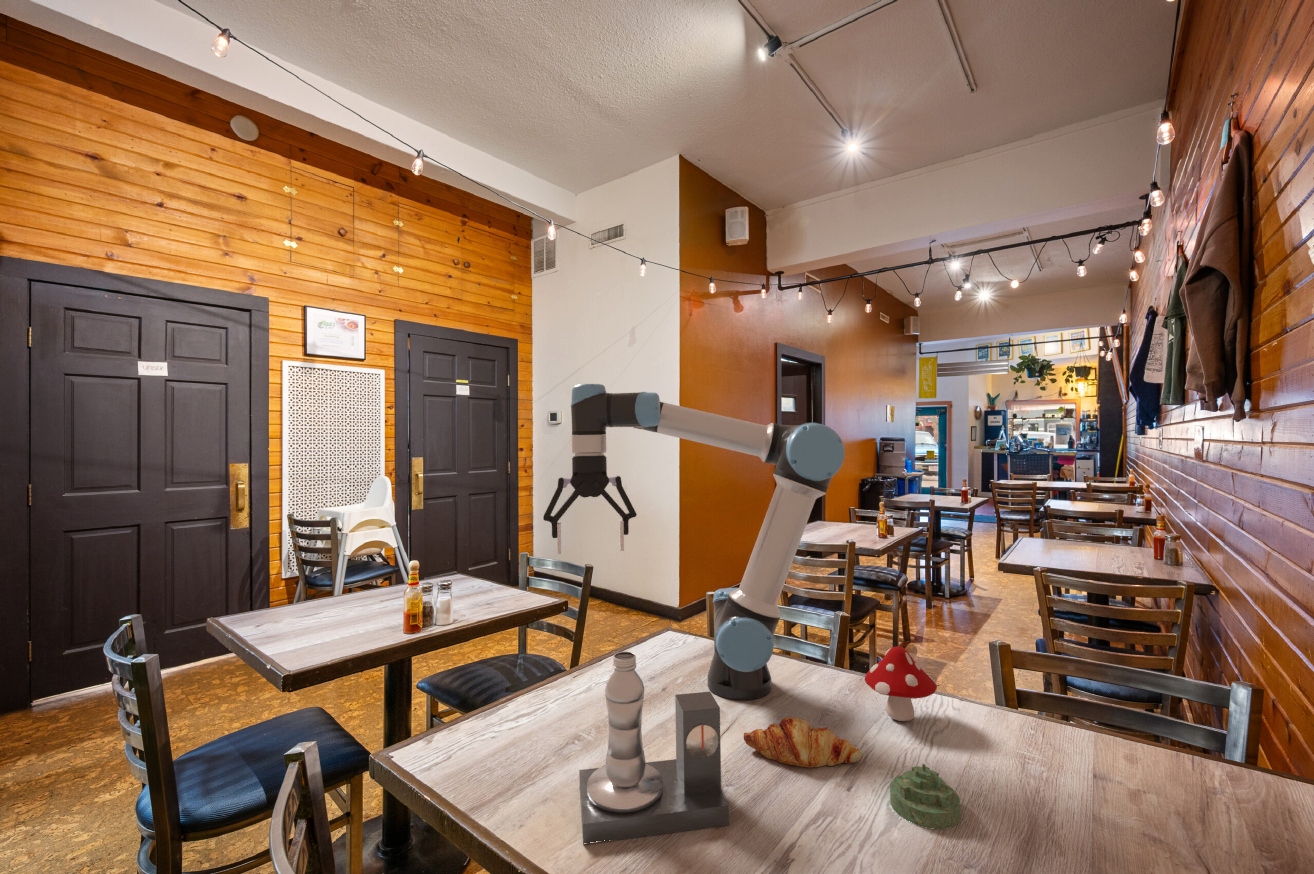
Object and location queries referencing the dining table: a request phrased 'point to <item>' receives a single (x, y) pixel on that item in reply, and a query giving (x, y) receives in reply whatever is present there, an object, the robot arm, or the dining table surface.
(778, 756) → the croissant
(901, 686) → the decorative mushroom
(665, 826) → the scale
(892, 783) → the decorative artifact
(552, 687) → the dining table surface
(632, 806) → the scale pan
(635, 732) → the plastic bottle
